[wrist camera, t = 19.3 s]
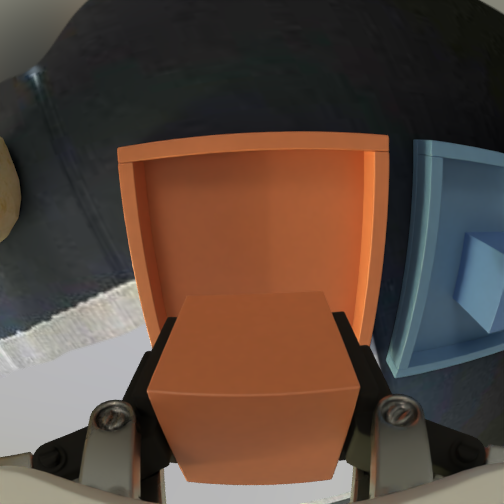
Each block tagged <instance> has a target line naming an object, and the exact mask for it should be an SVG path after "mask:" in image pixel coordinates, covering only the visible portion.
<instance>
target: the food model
mask: <svg viewBox="0 0 504 504" xmlns="http://www.w3.org/2000/svg"><path fill="white" fill-rule="evenodd" d="M20 203H21V191H20V182H19V178H18V175H17V172H16V169H15V166H14V164H13V161H12V159H11V156H10V154H9V151H8V148H7V146H6V145H5V143H4V140H3V138H1V137H0V243H1V241H3V240H4V239H5V238H6V237H7V236H8V235H9V233H10V231H11V229H12V228H13V226H14V224H15V223H16V221H17V219H18V218H19V210H20Z"/></svg>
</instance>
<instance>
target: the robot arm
mask: <svg viewBox="0 0 504 504" xmlns="http://www.w3.org/2000/svg"><path fill="white" fill-rule="evenodd" d="M332 315H333V317H334V320H335V322H336V325H337V327H338V330H339V332H340V335H341V337H342V340H343V342H344V345H345V347H346V350H347V352H348V355H349V358H350V360H351V363H352V365H353V368H354V371H355V373H356V376H357V379H358V381H359V384H360V390H359V394H358V398H357V402H356V406H355V409H354V413H353V416H352V420H351V423H350V426H349V430H348V433H347V436H346V439H345V442H344V446H343V449H342V452H341V455H340V457H339V461H341V460H346V461H347V463H349V464H350V465H352V466H353V478H352V490H351V499H350V503H348V504H504V447H502V446H495V445H488V446H487V448H486V447H484V446H483V444H482V443H481V442H480V441H479V440H478V439H477V438H475V437H473V436H470V435H467V434H464V433H461V432H459V431H456V430H453V429H450V428H447V427H445V426H442V425H439V424H437V423H434V422H432V421H429V420H426V419H425V418H424V412H423V409H422V406H421V405H420V403H419V402H418V401H417V400H415V399H414V398H412V397H410V396H407V395H404V394H393V395H392V393H391V391H390V389H389V387H388V385H387V382H386V380H385V378H384V376H383V374H382V372H381V370H380V368H379V365H378V363H377V361H376V359H375V357H374V355H373V353H372V351H371V349H370V347H369V346H368V345H360V344H359V342H358V340H357V338H356V336H355V333H354V331H353V329H352V327H351V325H350V323H349V321H348V319H347V316H346V314H345V312H344V311H341V312H332ZM177 318H178V317H168V318H167V320H166V322H165V324H164V326H163V328H162V330H161V332H160V334H159V336H158V338H157V340H156V342H155V344H154V347H153V349H152V351H147V352H145V354H144V356H143V358H142V360H141V362H140V364H139V366H138V368H137V370H136V372H135V374H134V376H133V378H132V380H131V383H130V385H129V387H128V389H127V391H126V393H125V395H124V397H123V400H110V401H106V402H104V403H101V404H100V405H98V406H97V407H96V408H95V409H94V410H93V411H92V413H91V416H90V420H89V424H88V426H87V427H85V428H82V429H80V430H78V431H75V432H73V433H71V434H68V435H65V436H63V437H60V438H58V439H55V440H53V441H50V442H48V443H45V444H44V445H42V446H40V447H39V448H38V449H37V450H36V452H35V453H34V455H32V453H31V452H28V453H22V454H17V455H11V456H5V457H0V504H166V496H165V482H164V469H163V468H165V467H167V466H168V465H169V463H170V462H171V463H177V461H176V459H175V457H174V454H173V452H172V450H171V448H170V446H169V444H168V442H167V439H166V437H165V435H164V433H163V430H162V428H161V426H160V423H159V421H158V419H157V416H156V414H155V411H154V409H153V406H152V404H151V401H150V399H149V396H148V393H147V389H148V386H149V384H150V381H151V379H152V376H153V374H154V371H155V369H156V367H157V364H158V362H159V359H160V357H161V355H162V352H163V350H164V348H165V345H166V343H167V341H168V338H169V336H170V334H171V331H172V329H173V327H174V324H175V322H176V320H177Z"/></svg>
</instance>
